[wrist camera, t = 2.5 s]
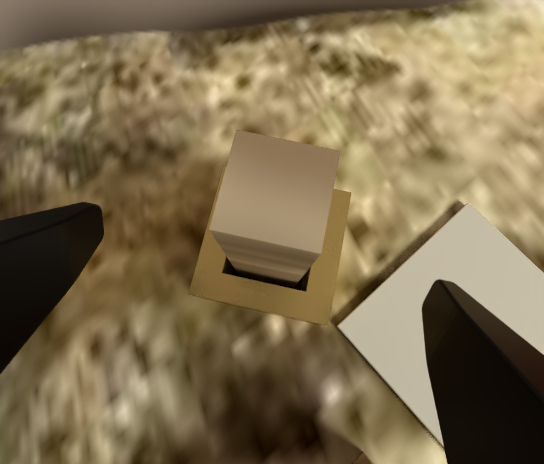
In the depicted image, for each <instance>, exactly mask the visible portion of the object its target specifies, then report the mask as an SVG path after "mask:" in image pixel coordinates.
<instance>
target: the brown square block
mask: <svg viewBox="0 0 544 464" xmlns="http://www.w3.org/2000/svg"><path fill="white" fill-rule="evenodd" d="M339 156H340V151H338V150H333V149H328V148H323V147H318V146H314V145H309V144H304V143H299V142H294V141H289V140H284V139H279V138H275V137H270V136H265V135H260V134H255V133H250V132H245V131H240V130H236V133H235V137H234V140H233V144H232V148H231V151H230V155H229V158H228V162H227V166H226V169H225V173H224V177H223V180H222V184H221V188H220V191H219V195H218V199H217V202H216V206H215V209H214V213H213V217H212V220H211V224H210V228H209V230H210V232H211V233H212V235H213V236H214V238H215V239H216V241H217V243H218V244H219V246H220V247H221V249H222V250H223V252H224V253H225V255H226V256H227V258H228V259H229V261H230V262H231V264H232V266H233V267H234V269H235V270H236V272H237V273H238V275H242V276H246V277H251V278H255V279H260V280H264V281H269V282H273V283H278V284H282V285H287V286H291V287H294V286H295V285H296V284H297V283H298V281H299V280H300V279H301V278H302V277H303V275H304V274H305V273H306V272H307V271H308V269H309V268H310V267H311V266H312V264H313V263H314V262H315V261H316V260H317V258H318V257H319V256H320V255H321V252H322V247H323V241H324V236H325V231H326V225H327V220H328V215H329V209H330V204H331V199H332V193H333V188H334V183H335V177H336V172H337V167H338V161H339Z"/></svg>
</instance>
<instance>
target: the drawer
mask: <svg viewBox="0 0 544 464" xmlns="http://www.w3.org/2000/svg"><path fill="white" fill-rule="evenodd" d="M353 464H373V463H372V462H371V461H370V459H369V458H368V457H367V456H366V455H365V453H364V452H363V453H362V454H361V455H360V456H359V457H358V459H357V460H356V461H355V462H354V463H353Z"/></svg>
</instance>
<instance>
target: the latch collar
mask: <svg viewBox="0 0 544 464" xmlns="http://www.w3.org/2000/svg"><path fill="white" fill-rule="evenodd" d="M225 169H226V166H224V167H223V170H222V174H221V178H220V181H219V185H218V188H217V192H216V196H215V199H214V203H213V206H212V210H211V214H210V217H209V221H208V225H207V228H206V232H205V235H204V239H203V243H202V246H201V250H200V253H199V257H198V261H197V264H196V268H195V271H194V275H193V279H192V282H191V286H190V290H189V293H188V294H190V295H193V296H196V297H199V298H203V299H208V300H212V301H216V302H221V303H225V304H230V305H234V306H238V307H243V308H247V309H252V310H256V311H261V312H265V313H269V314H274V315H278V316H283V317H287V318H291V319H296V320H300V321H305V322H309V323H313V324H318V325H327V326H328V325H329V319H330V313H331V307H332V301H333V296H334V290H335V284H336V278H337V273H338V267H339V261H340V255H341V250H342V244H343V238H344V232H345V227H346V221H347V215H348V209H349V204H350V198H351V192H346V191H341V190H337V189H333V193H332V199H331V204H330V209H329V215H328V220H327V225H326V231H325V236H324V241H323V247H322V252H321V255H320V256H319V257H318V258H317V260H316V261H315V262H314V263H313V264H312V266H311V267H310V268H309V269H308V271H307V272H306V273H305V274H304V278H303V283H302V288H301V291H300V290H296V289H291V288H287V287H282V286H278V285H273V284H269V283H264V282H260V281H255V280H251V279H246V278H242V277H237V276H233V275H231V271H232V267H233V266H232V264H231V262H230V261H229V259H228V258H227V256H226V255H225V253H224V252H223V250H222V249H221V247H220V246H219V244H218V243H217V241H216V239H215V238H214V236H213V235H212V233H211V232H210V230H209V228H210V224H211V220H212V217H213V213H214V209H215V206H216V202H217V199H218V195H219V191H220V188H221V184H222V180H223V177H224V173H225Z"/></svg>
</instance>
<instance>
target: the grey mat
mask: <svg viewBox="0 0 544 464" xmlns="http://www.w3.org/2000/svg"><path fill="white" fill-rule="evenodd" d="M438 279H442V280H446V281H451V282H454V283H455V284H457V285H458V286H459V287H460V288H462V289H463V290H464V291H465V292H467V293H468V294H469V295H470V296H472V297H473V298H474V299H475V300H476V301H478V302H479V303H480V304H481V305H483V306H484V307H485V308H486V309H488V310H489V311H490V312H491V313H493V314H494V315H495V316H496V317H498V318H499V319H500V320H501V321H502V322H504V323H505V324H506V325H507V326H509V327H510V328H511V329H512V330H514V331H515V332H516V333H517V334H519V335H520V336H521V337H522V338H524V339H525V340H526V341H527V342H528V343H530V344H531V345H532V346H533V347H535V348H536V349H537V350H538V351H540V352H541V353H542V354H543V355H544V273H543V272H542V271H541V270H540V269H539V268H538V267H537V266H535V265H534V264H533V263H532V262H531V261H530V260H529V259H528V258H527V257H526V256H525V255H524V254H523V253H522V252H521V251H520V250H519V249H518V248H516V247H515V246H514V245H513V244H512V243H511V242H510V241H509V240H508V239H507V238H506V237H505V236H504V235H503V234H502V233H501V232H500V231H499V230H497V229H496V228H495V227H494V226H493V225H492V224H491V223H490V222H489V221H488V220H487V219H486V218H485V217H484V216H483V215H482V214H481V213H480V212H479V211H477V210H476V209H475V208H474V207H473V206H472V205H471V204H470V203H467V204H466V205H464V206H463V207H462V208H461V209H460V210H459V211H458V212H457V213H456V214H455V215H454V216H453V217H452V218H450V219H449V220H448V221H447V222H446V223H445V224H444V225H443V226H442V227H441V228H440V229H439V230H438V231H437V232H436V233H435V234H433V235H432V236H431V237H430V238H429V239H428V240H427V241H426V242H425V243H424V244H423V245H422V246H421V247H420V248H419V249H418V250H417V251H415V252H414V253H413V254H412V255H411V256H410V257H409V258H408V259H407V260H406V261H405V262H404V263H403V264H402V265H401V266H400V267H399V268H397V269H396V270H395V271H394V272H393V273H392V274H391V275H390V276H389V277H388V278H387V279H386V280H385V281H384V282H383V283H382V284H380V285H379V286H378V287H377V288H376V289H375V290H374V291H373V292H372V293H371V294H370V295H369V296H368V297H367V298H366V299H365V300H364V301H362V302H361V303H360V304H359V305H358V306H357V307H356V308H355V309H354V310H353V311H352V312H351V313H350V314H349V315H348V316H347V317H345V318H344V319H343V320H342V321H341V322H340V323H339V324H338V325H337V327H338V329H339V330H340V331H341V332H342V333H343V334H344V335H345V336H346V338H347V339H348V340H349V341H350V342H351V343H352V344H353V346H354V347H355V348H356V349H357V350H358V351H359V352H360V353H361V355H362V356H363V357H364V358H365V359H366V360H367V361H368V363H369V364H370V365H371V366H372V367H373V368H374V369H375V370H376V372H377V373H378V374H379V375H380V376H381V377H382V378H383V379H384V381H385V382H386V383H387V384H388V385H389V386H390V387H391V389H392V390H393V391H394V392H395V393H396V394H397V395H398V396H399V398H400V399H401V400H402V401H403V402H404V403H405V404H406V406H407V407H408V408H409V409H410V410H411V411H412V412H413V413H414V415H415V416H416V417H417V418H418V419H419V420H420V421H421V423H422V424H423V425H424V426H425V427H426V428H427V429H428V430H429V432H430V433H431V434H432V435H433V436H434V437H435V438H436V440H437V441H438V442H439V443H440V444H441V445H442V446H443V447H444V444H443V440H442V435H441V430H440V426H439V421H438V416H437V411H436V407H435V402H434V397H433V392H432V388H431V383H430V378H429V374H428V368H427V363H426V355H425V343H424V332H423V321H422V304H423V302H424V300H425V298H426V296H427V294H428V292H429V290H430V288H431V286H432V284H433V283H434V282H435V281H436V280H438Z"/></svg>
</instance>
